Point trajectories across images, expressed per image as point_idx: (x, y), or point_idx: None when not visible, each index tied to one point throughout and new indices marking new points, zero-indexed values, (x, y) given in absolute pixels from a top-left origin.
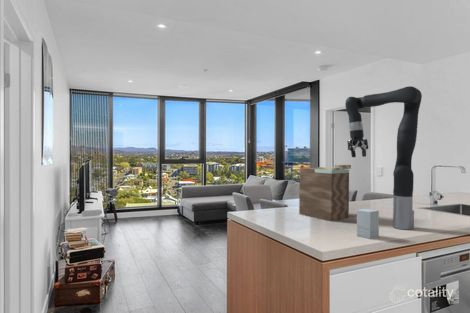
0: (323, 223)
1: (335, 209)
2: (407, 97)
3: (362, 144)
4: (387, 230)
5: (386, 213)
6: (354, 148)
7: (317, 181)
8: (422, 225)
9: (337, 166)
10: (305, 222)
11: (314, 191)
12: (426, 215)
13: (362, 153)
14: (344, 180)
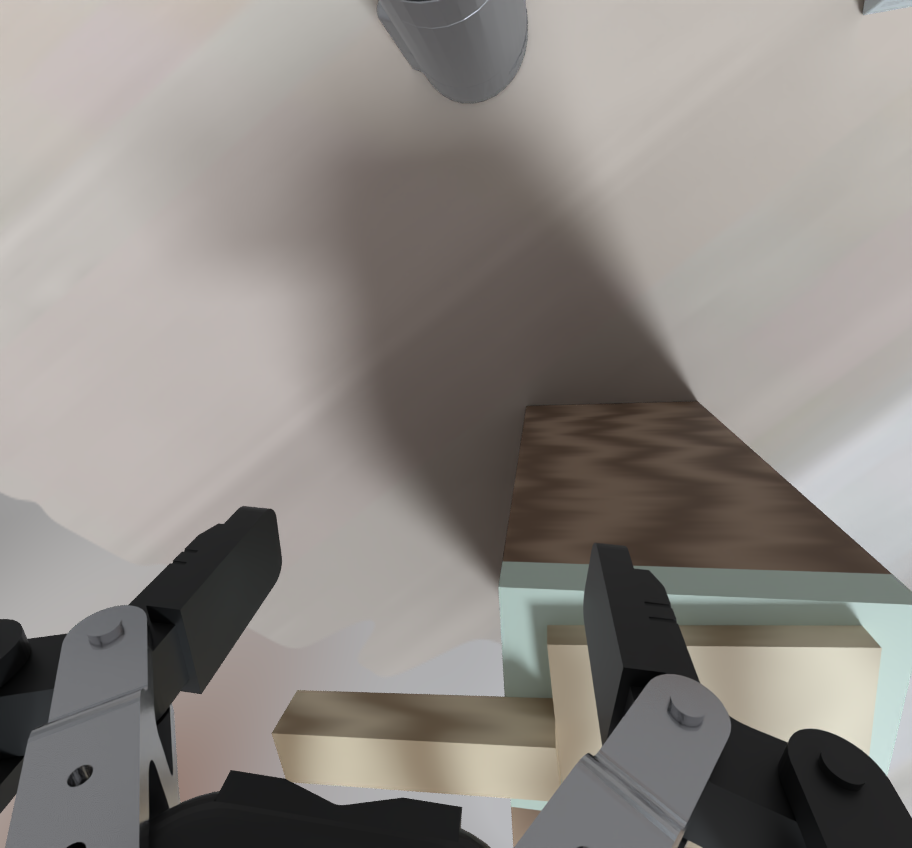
0: (797, 381)
1: (672, 422)
2: None
3: (130, 830)
4: (629, 28)
5: (198, 395)
6: (673, 752)
7: None
8: (293, 35)
9: (557, 748)
10: (870, 456)
11: None
12: (32, 239)
13: (244, 616)
14: (588, 517)
